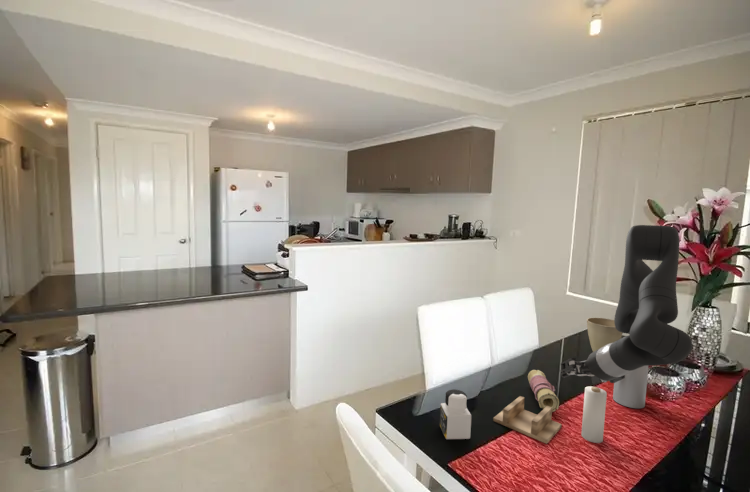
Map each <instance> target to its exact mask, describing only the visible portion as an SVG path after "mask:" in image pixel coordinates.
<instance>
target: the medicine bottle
mask: <svg viewBox="0 0 750 492" xmlns="http://www.w3.org/2000/svg"><path fill="white" fill-rule="evenodd" d="M467 400H468V395H467V393H465V391H463V390H460V389H456V388H455V389H449V390H447V391H446V392H445V401H444V402H441V403H440V409H439V411H440V412H439V427H440V429H441V431H442V434H443V436H444V438H445V439H446V440H465V439H466V440H469V439H471V428H472V414H471V412H470V411H469V409H468V407H467V402H468V401H467Z"/></svg>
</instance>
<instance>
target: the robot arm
mask: <svg viewBox="0 0 750 492" xmlns="http://www.w3.org/2000/svg"><path fill="white" fill-rule="evenodd" d="M679 235H680V234H679V231H678V229H677V228H676V227H674V226H669V225H650V224H649V225H648V224H647V225H646V224H638V225H637V224H635V225H633V226H631V227H630V228H629V230H628V233H627V236H626V241H625V254H624V255H625V256H624V258H625V259H624V267H623V271H622V276H621V280H620V281H621V282H620V288H619V289H620V290H619V299H618V302H617V303H618V304H617V306H616V310H615V315H614V319H613V320H614V323H615V327H616V329H617V330H618V331H619V332H622V333H623V334H626V335H625V336H622V337H621V339H619V340H617V341H615V342H613V343H610V344H607V345H605V346H603V347H602V348H600V349H598V350H596V351H594V352H593V351H592V352H591V353H590V354H589V355H588V357H587V359H586V360H582V361H577V360H576V359H577V358H576V357H570V358H568V359H567V360H565V361H562V362H560V368H561V369H560V376H561V377H562V379H566V378H568V377H570V376H572V375H575V376H578V377H584V376H588V377H591V383H592V384H593V385H597V384H600V383H607V382H609V383H611V384H613V391H612V392H613V393H612V399H613V400H614V402H616V403H617V404H619V405H622V406H624V407H628V408H630V409H643V408H645V406H646V396H647V386H648V377H649V376H648V375H649V366H651V367H653V366H665V365H672V364H673V365H674V364H677V363H679V362H681V361H683V360H685V359H686V358H687V357H688V356H689V355H690V354H691V352H692V350H693V340H692V338H691V337H690V335H689V334H688V333H686V332H685V331H683V330H682V329H680V328H678V327H674V326H673V325H671V323H673V322H674V321H676V319H677V318H678V315H679V309H678V308H679V307H678V297H677V279H678V278H677V277H678V272H679V271H678V270H679V259H680V236H679ZM643 260H644V261H656V262H661V263H660V264H659V265H658V266H657V267H656V268H655V269H652V268H651V267H650V266H649V265H648V264H646V262H644V261H643ZM627 334H628V335H627ZM573 370H574V371H573ZM580 370H581V372H580Z"/></svg>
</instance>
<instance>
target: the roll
mask: <svg viewBox="0 0 750 492" xmlns="http://www.w3.org/2000/svg"><path fill="white" fill-rule="evenodd" d="M607 394H608V393H607V391H606V390H605V389H603V388H600V387H597V386H591V385H590V386H586V387H584V395H583V409H582V420H581V437H582V438H583V439H584V440H586V441H588V442H591V443H595V444H600V443H603V442H604V433H605V432H604V430H605V418H606V407H607V397H608V395H607Z"/></svg>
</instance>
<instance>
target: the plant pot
mask: <svg viewBox="0 0 750 492" xmlns="http://www.w3.org/2000/svg"><path fill="white" fill-rule="evenodd" d="M586 325H587V326H586V327H587V334H588V339H589V344H590V347H591V351H592V352H594V351H596V350H598V349H600V348H602V347H603V346H605V345H607V344H610V343H613V342H615V341H617V340H619V339H621V338H623V334H624V333H622V332H619V331H618V330H617V329H616V327H615V323H614V319H611V318H605V317H589V318H586Z"/></svg>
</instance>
